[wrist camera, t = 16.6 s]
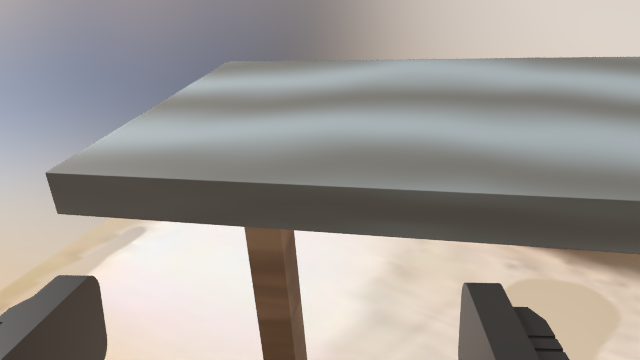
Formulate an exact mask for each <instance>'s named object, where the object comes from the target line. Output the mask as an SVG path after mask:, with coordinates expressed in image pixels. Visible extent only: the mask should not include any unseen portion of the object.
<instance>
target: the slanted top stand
mask: <svg viewBox="0 0 640 360" xmlns="http://www.w3.org/2000/svg"><path fill="white" fill-rule="evenodd" d="M46 177H47V180H48V183H49V186H50V190H51V193H52V196H53V200H54V203H55V206H56V210H57V213H58V214H67V215H82V216H96V217H111V218H125V219H140V220H154V221H169V222H183V223H198V224H212V225H227V226H241V227H245V234H246V241H247V248H248V255H249V262H250V268H251V275H252V282H253V289H254V296H255V303H256V310H257V317H258V324H259V330H260V337H261V344H262V351H263V358H264V360H307V354H306V344H305V334H304V325H303V315H302V305H301V296H300V286H299V276H298V267H297V257H296V247H295V237H294V230H299V231H314V232H328V233H343V234H357V235H372V236H386V237H401V238H415V239H430V240H444V241H459V242H473V243H488V244H502V245H517V246H531V247H546V248H560V249H575V250H589V251H604V252H619V253H633V254H640V57H580V58H504V59H503V58H501V59H500V58H498V59H497V58H494V59H412V60H411V59H409V60H328V61H327V60H326V61H325V60H322V61H236V62H227V63H225V64H223V65H222V66H220V67H218V68H217V69H215V70H213V71H212V72H210V73H208V74H207V75H205V76H204V77H202V78H200V79H199V80H197V81H195V82H194V83H192V84H190V85H189V86H187V87H185V88H184V89H182V90H181V91H179V92H177V93H176V94H174V95H172V96H171V97H169V98H167V99H166V100H164V101H163V102H161V103H159V104H157V105H156V106H154V107H153V108H151V109H149V110H148V111H146V112H144V113H143V114H141V115H140V116H138V117H136V118H134V119H133V120H131V121H130V122H128V123H126V124H125V125H123V126H121V127H120V128H118V129H116V130H115V131H113V132H112V133H110V134H108V135H107V136H105V137H103V138H102V139H100V140H98V141H97V142H95V143H94V144H92V145H90V146H89V147H87V148H85V149H84V150H82V151H81V152H79V153H77V154H75V155H74V156H72V157H71V158H69V159H67V160H66V161H64V162H62V163H61V164H59V165H57V166H56V167H54V168H52V169H51V170H49V171H47V172H46Z"/></svg>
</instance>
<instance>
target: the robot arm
mask: <svg viewBox="0 0 640 360" xmlns="http://www.w3.org/2000/svg"><path fill="white" fill-rule="evenodd" d="M106 351H107V334H106V327H105V320H104V313H103V306H102V299H101V292H100V286H99V283H98V280H97V279H96V278H95V277H94V276H68V275H65V276H64V275H59V276H57V277H55V278H54V279H53V280H52V281H51V282H50V283H48V284H47V285H46V286H45V287H44V288H43V289H41V290H40V291H39V292H38V293H37V294H35V295H34V296H33V297H31V298H29V299H27V300H25V301H23V302H21V303H19V304H17V305H15V306H13V307H11V308H9V309H8V310H7V311H6V312H4V313H3V314H2V315H1V316H0V360H104V359H105V356H106ZM458 360H569V358H568V357H567V355H566V353H565V352H563V348H562V347H561V345H560V343H559V342H558V340H557V339H555V335H554V333H553V332H552V330H551V328H550V327H549V325H548V323H547V322H546V320H544V319H543V318H542V317H540V316H539V315H538V314H536V313H535V312H533V311H532V310H531V309H529V308H528V307H513V306H512V305H511V303H510V301H509V299H508V297H507V295H506V293H505V291H504V289H503V287H502V285H501V284H500V283H464V284H463V287H462V295H461V312H460V329H459V346H458Z"/></svg>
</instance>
